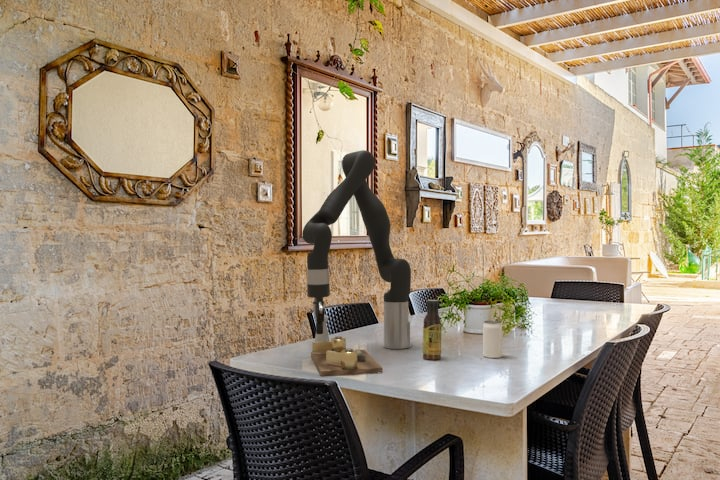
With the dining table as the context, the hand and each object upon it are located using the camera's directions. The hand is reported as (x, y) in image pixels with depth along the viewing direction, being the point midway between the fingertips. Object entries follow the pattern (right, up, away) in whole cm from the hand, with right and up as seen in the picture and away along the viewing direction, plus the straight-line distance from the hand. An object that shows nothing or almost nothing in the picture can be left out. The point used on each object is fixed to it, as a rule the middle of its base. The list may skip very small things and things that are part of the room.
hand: (319, 333), depth 199 cm
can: (+59, -9, +4) cm, 60 cm away
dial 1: (+3, -7, +4) cm, 9 cm away
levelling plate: (+9, -9, -5) cm, 14 cm away
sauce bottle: (+38, -9, +2) cm, 39 cm away
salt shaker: (0, -9, +17) cm, 19 cm away
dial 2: (+8, -8, -16) cm, 19 cm away
